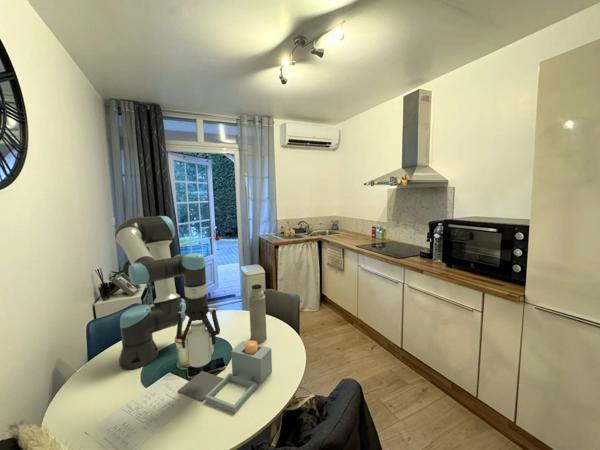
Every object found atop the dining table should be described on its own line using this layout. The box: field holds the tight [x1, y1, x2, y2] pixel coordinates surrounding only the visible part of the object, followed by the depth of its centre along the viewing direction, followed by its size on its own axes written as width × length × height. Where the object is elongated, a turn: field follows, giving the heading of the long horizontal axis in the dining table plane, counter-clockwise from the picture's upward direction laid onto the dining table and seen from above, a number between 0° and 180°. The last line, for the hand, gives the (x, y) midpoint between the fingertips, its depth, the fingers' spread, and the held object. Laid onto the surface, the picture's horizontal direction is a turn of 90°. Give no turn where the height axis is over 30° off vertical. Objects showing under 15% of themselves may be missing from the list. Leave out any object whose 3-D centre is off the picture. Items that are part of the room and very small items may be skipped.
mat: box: [177, 370, 225, 402], centre depth 101 cm, size 12×12×1 cm
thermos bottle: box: [248, 284, 268, 344], centre depth 132 cm, size 8×8×28 cm
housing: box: [204, 341, 273, 414], centre depth 100 cm, size 14×24×10 cm, turn 156°
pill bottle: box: [186, 320, 212, 368], centre depth 99 cm, size 8×8×15 cm
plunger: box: [245, 340, 258, 355], centre depth 107 cm, size 5×5×7 cm
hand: (200, 353), depth 99 cm, fingers closed on pill bottle, 8 cm apart
